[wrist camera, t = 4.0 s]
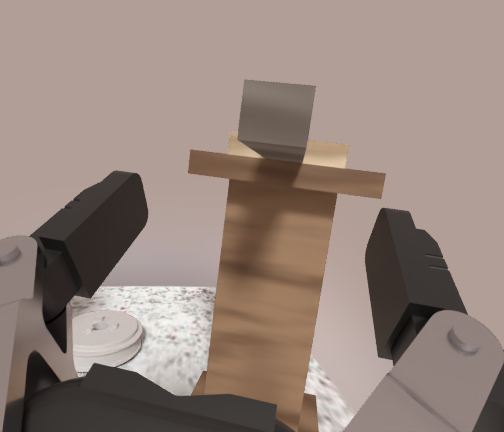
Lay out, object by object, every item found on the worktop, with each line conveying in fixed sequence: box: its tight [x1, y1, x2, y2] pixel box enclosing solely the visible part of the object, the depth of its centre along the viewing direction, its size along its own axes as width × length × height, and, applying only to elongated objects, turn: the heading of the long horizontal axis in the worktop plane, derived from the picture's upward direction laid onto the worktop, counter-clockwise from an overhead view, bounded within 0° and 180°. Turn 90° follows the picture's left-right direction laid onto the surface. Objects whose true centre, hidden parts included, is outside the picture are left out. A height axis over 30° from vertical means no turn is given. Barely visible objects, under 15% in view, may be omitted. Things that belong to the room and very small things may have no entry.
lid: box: [72, 310, 142, 372], centre depth 48 cm, size 13×13×5 cm
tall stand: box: [188, 150, 386, 432], centre depth 34 cm, size 14×16×32 cm
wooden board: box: [228, 80, 349, 169], centre depth 26 cm, size 26×10×2 cm, turn 171°
